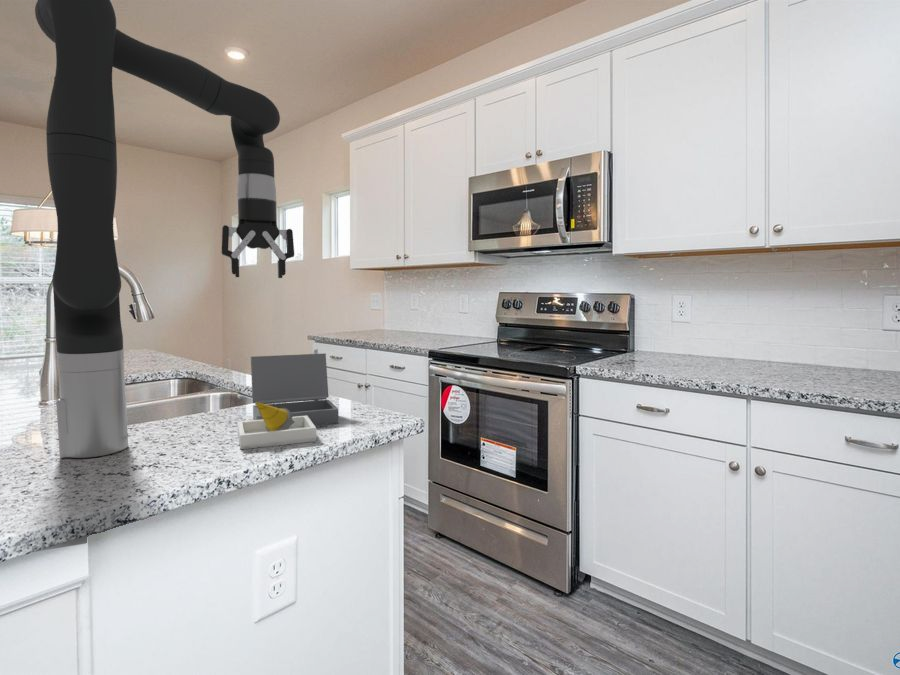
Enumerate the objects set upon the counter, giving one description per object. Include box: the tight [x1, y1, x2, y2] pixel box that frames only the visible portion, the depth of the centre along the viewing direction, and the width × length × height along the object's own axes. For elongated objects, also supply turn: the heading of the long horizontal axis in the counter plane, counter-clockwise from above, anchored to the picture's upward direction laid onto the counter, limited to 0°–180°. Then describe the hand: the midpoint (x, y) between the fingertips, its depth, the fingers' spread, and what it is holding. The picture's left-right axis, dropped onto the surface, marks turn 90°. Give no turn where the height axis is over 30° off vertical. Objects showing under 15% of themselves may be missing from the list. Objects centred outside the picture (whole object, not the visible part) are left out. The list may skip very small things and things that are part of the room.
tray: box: [237, 415, 317, 450], centre depth 98 cm, size 13×10×2 cm
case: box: [252, 399, 339, 427], centre depth 110 cm, size 16×10×3 cm, turn 114°
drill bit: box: [254, 402, 295, 431], centre depth 97 cm, size 5×5×10 cm
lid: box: [250, 352, 329, 405], centre depth 115 cm, size 16×10×1 cm
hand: (259, 277), depth 110 cm, fingers open, 8 cm apart
